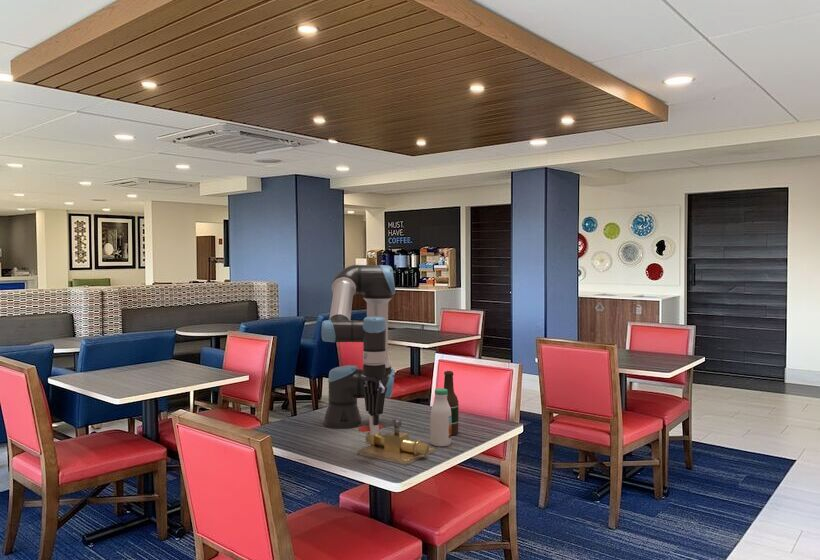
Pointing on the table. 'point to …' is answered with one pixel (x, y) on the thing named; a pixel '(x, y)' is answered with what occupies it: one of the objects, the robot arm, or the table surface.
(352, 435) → the table surface
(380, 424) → the lever
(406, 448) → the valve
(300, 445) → the table surface
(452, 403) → the beer bottle
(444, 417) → the milk bottle
